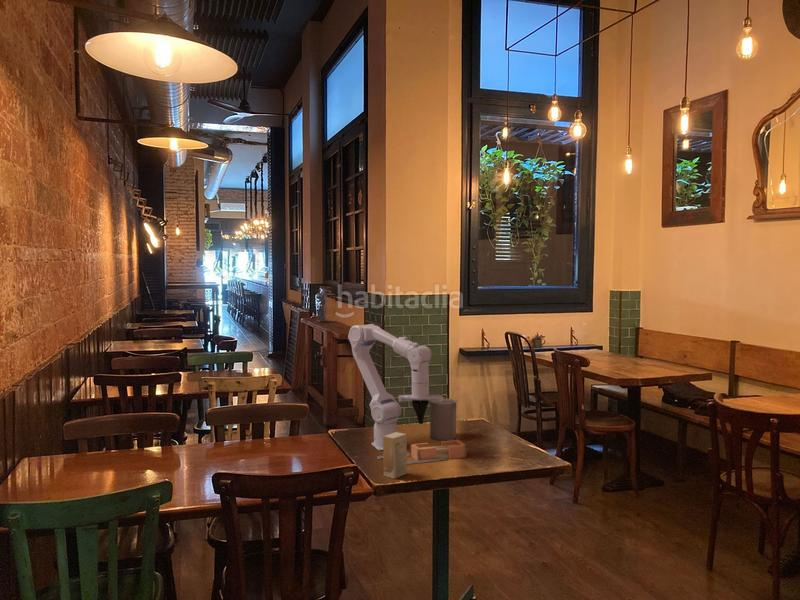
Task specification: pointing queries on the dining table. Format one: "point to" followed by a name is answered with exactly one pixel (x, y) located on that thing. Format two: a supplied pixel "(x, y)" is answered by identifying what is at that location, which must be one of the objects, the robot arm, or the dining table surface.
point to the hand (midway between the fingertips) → (420, 423)
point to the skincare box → (395, 455)
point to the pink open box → (455, 449)
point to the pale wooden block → (441, 450)
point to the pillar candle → (443, 419)
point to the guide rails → (420, 460)
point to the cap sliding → (422, 451)
